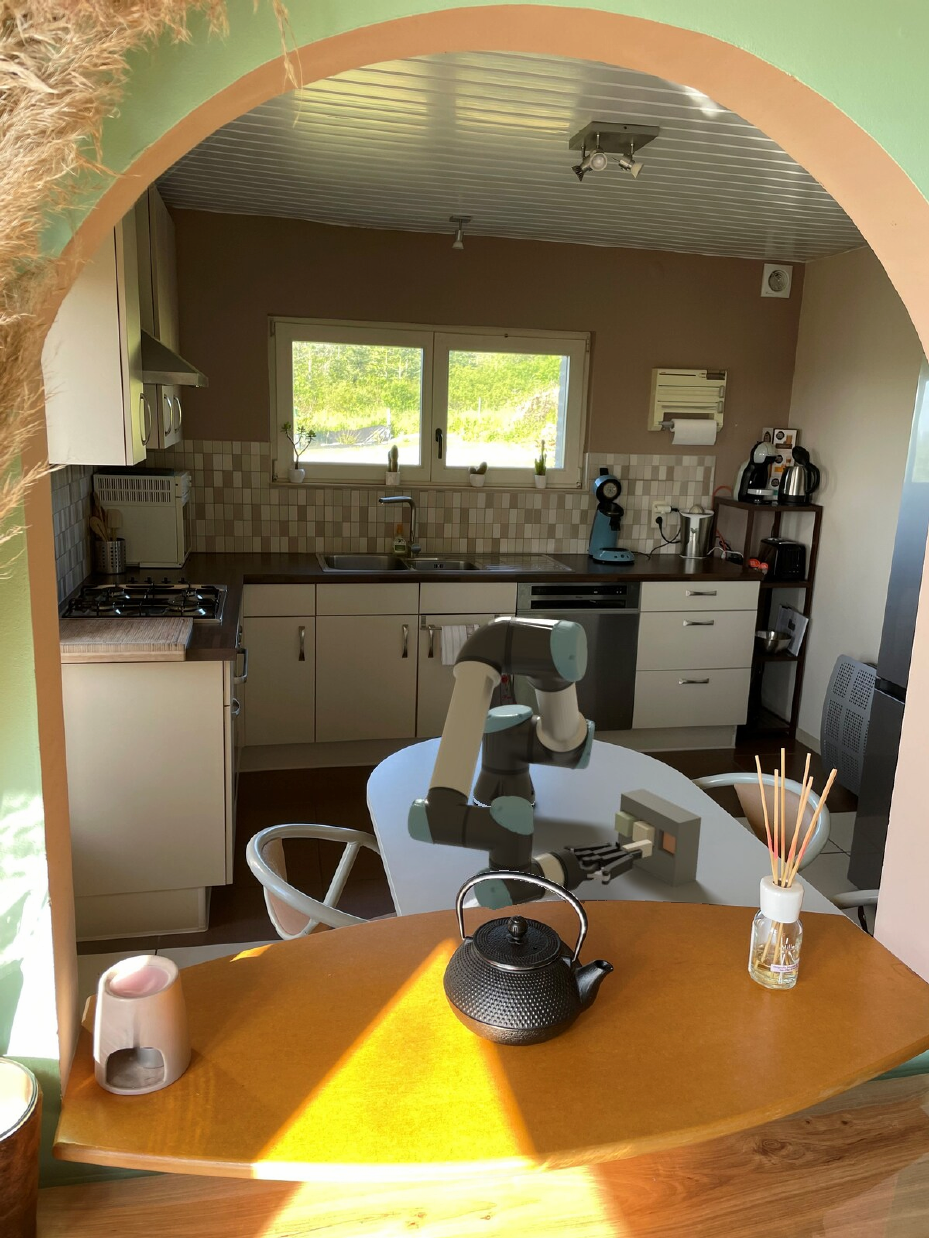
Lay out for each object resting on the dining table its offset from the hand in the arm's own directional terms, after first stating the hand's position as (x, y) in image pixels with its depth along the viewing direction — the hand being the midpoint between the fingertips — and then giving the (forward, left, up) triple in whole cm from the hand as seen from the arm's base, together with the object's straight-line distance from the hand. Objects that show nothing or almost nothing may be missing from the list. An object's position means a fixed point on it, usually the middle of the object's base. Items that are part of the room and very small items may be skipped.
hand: (649, 847), depth 182 cm
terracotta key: (0, +8, -2) cm, 8 cm away
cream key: (-6, +5, -2) cm, 8 cm away
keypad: (-6, +8, -9) cm, 13 cm away
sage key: (-11, +5, -2) cm, 12 cm away
